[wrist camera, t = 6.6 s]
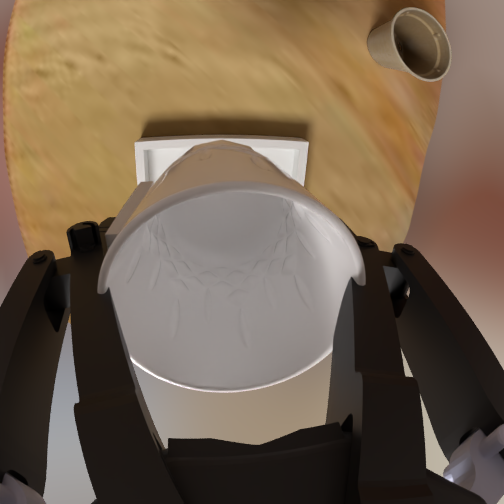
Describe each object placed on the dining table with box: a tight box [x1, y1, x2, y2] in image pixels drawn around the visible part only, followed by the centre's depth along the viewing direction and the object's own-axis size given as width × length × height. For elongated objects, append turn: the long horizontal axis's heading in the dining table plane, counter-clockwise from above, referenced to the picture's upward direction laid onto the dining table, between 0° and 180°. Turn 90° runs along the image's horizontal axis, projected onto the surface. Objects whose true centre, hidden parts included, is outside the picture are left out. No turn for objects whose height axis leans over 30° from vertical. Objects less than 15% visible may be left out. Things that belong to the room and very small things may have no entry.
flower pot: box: [367, 7, 452, 82], centre depth 24 cm, size 9×9×9 cm
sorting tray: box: [135, 135, 309, 187], centre depth 37 cm, size 20×20×3 cm
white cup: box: [97, 140, 366, 392], centre depth 12 cm, size 8×8×10 cm
